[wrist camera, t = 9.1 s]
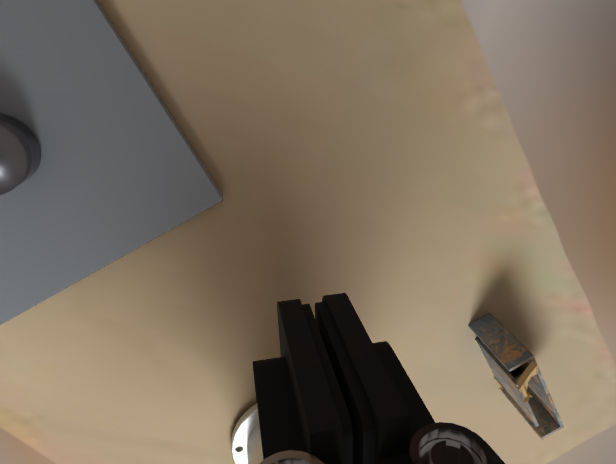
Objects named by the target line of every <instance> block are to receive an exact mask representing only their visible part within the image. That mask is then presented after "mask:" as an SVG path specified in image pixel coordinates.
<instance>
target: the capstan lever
mask: <svg viewBox="0 0 616 464" xmlns="http://www.w3.org/2000/svg"><path fill="white" fill-rule="evenodd" d="M40 161H41V149H40V145H39V143H38V140H37V138H36V137H35V135H34V134H33V132H32V131H31V130H30V129H29V128H28V127H27V126H26V125H25V124H24V123H22V122H21V121H19V120H18V119H16V118H14V117H12V116H9V115H6V114H2V113H0V195H3V194H6V193H8V192H10V191H11V190H13V189H14V188H16V187H17V186H18V185H20V184H21V183H23V182H24V181H26V180H27V179H28V178H30V177H31V176H32V175H33V174H34V173H35V172H36V171H37V169H38V167H39V165H40Z"/></svg>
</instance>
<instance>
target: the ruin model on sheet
mask: <svg viewBox="0 0 616 464" xmlns="http://www.w3.org/2000/svg"><path fill="white" fill-rule="evenodd" d="M468 326H469V327H470V328H471V330H472V331H473V332H474V333H475V334H476V335H477V336H478V337H479V338H480V339H479V338H476V339H475V340H476V341H477V342H478V344H479V346H480V348H481V350H482V352H483V354H484V356H485V358H486V360H487V362H488V364H489V366H490V368H491V370H492V372H493V374H494V377H495V378H494V379H496V381H497V383H498V385H499V387H500V388H499V389H501V391H502V392H503V393H504V395H505V396H506V397H507V398H508V399H509V401H510V402H511V403H512V404H513V405H514V407H515V408H516V409H517V410H518V411H519V413H520V414H521V415H522V416H523V418H524V419H525V420H526V421H527V422H528V424H529V425H530V426H531V427H532V428H533V430H534V431H535V432H536V433H537V434H538V436H539V437H540V438H541V439H544V438H546V437H547V436H549V435H551V434H553V433H554V432H556V431H558V430H560V429H561V428H563V427H564V426H563V424H562V421H561V419H560V417H559V414H558V412H557V410H556V407H555V405H554V403H553V400H552V398H551V396H550V393H549V391H548V389H547V386H546V384H545V382H544V379H543V377H542V375H541V372H540V370H539V368H538V365H537V363H536V361H535V358H534V356H533V355H532V354H531V353H530V352H529V351H528V350H527V349H526V348H525V347H524V346H523V345H522V344H521V343H520V342H519V341H518V340H517V339H516V338H515V337H514V336H513V335H512V334H511V333H510V332H509V331H508V330H507V329H506V328H505V327H504V326H503V325H502V324H500V323H499V322H498V321H497V320H496V319H495V318H494V317H493V316H492V315H491V314H490V313H488V314H486V315H484V316H483V317H481V318H479V319H478V320H476V321H474V322H473V323H471V324H469V325H468ZM484 344H485V345H486V346H487V347H488V348H489V349H488V348H487V347H486V346H485V345H484ZM493 354H494V355H495V356H496V357H497V358H498V359H497V358H496V357H495V356H494V355H493ZM502 364H503V365H504V366H505V367H506V368H507V369H506V368H505V367H504V366H503V365H502ZM512 370H513V371H514V373H515V375H516V377H513V376H512V375H511V373H510V372H511V371H512Z"/></svg>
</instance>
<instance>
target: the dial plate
mask: <svg viewBox="0 0 616 464" xmlns="http://www.w3.org/2000/svg"><path fill="white" fill-rule="evenodd" d="M0 113H2V114H6V115H9V116H12V117H14V118H16V119H18V120H19V121H21V122H22V123H24V124H25V125H26V126H27V127H28V128H29V129H30V130H31V131H32V132H33V134H34V135H35V137H36V138H37V140H38V143H39V145H40V149H41V161H40V165H39V167H38V169H37V171H36V172H35V173H34V174H33V175H32V176H31V177H30V178H28V179H27V180H26V181H24V182H23V183H21V184H20V185H18V186H17V187H16V188H14V189H13V190H11V191H10V192H8V193H6V194H3V195H0V325H1V324H3V323H5V322H6V321H8V320H10V319H12V318H13V317H15V316H17V315H19V314H21V313H22V312H24V311H26V310H28V309H30V308H31V307H33V306H35V305H37V304H39V303H40V302H42V301H44V300H46V299H47V298H49V297H51V296H53V295H55V294H56V293H58V292H60V291H62V290H64V289H65V288H67V287H69V286H71V285H72V284H74V283H76V282H78V281H80V280H81V279H83V278H85V277H87V276H89V275H90V274H92V273H94V272H96V271H98V270H99V269H101V268H103V267H105V266H106V265H108V264H110V263H112V262H114V261H115V260H117V259H119V258H121V257H123V256H124V255H126V254H128V253H130V252H131V251H133V250H135V249H137V248H139V247H140V246H142V245H144V244H146V243H148V242H149V241H151V240H153V239H155V238H157V237H158V236H160V235H162V234H164V233H165V232H167V231H169V230H171V229H173V228H174V227H176V226H178V225H180V224H182V223H183V222H185V221H187V220H189V219H190V218H192V217H194V216H196V215H198V214H199V213H201V212H203V211H205V210H207V209H208V208H210V207H212V206H214V205H216V204H217V203H219V202H221V201H223V196H222V193H221V192H220V190H219V189H218V187H217V186H216V184H215V182H214V181H213V179H212V178H211V176H210V175H209V173H208V172H207V170H206V168H205V167H204V165H203V164H202V162H201V161H200V159H199V158H198V156H197V154H196V153H195V151H194V150H193V148H192V147H191V145H190V144H189V142H188V140H187V139H186V137H185V136H184V134H183V133H182V131H181V130H180V128H179V126H178V125H177V123H176V122H175V120H174V119H173V117H172V116H171V114H170V112H169V111H168V109H167V108H166V106H165V105H164V103H163V102H162V100H161V98H160V97H159V95H158V94H157V92H156V91H155V89H154V88H153V86H152V84H151V83H150V81H149V80H148V78H147V77H146V75H145V74H144V72H143V70H142V69H141V67H140V66H139V64H138V63H137V61H136V60H135V58H134V56H133V55H132V53H131V52H130V50H129V49H128V47H127V46H126V44H125V42H124V41H123V39H122V38H121V36H120V35H119V33H118V32H117V30H116V28H115V27H114V25H113V24H112V22H111V21H110V19H109V18H108V16H107V14H106V13H105V11H104V10H103V8H102V7H101V5H100V4H99V2H98V0H0Z"/></svg>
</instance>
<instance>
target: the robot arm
mask: <svg viewBox="0 0 616 464" xmlns="http://www.w3.org/2000/svg"><path fill="white" fill-rule="evenodd" d="M277 310H278V324H279V337H280V350H281V357H280V358H273V359H266V360H260V361H253V371H254V380H255V390H256V399H257V403H256V404H254V405H253V406H252V407H250V408H249V409H248V410H247V411H246V412H245V413H244V414H243V415H242V416H241V418H240V419H239V421H238V422H237V423H236V426H235V428H234V430H233V433H232V439H231V451H232V456H233V460H234V462H235V464H505V463H504V462H503V461H502V460H501V458H500V457H499V456H498V455H497V454H496V453H495V452H494V450H493V449H492V448H491V447H490V446H489V445H488V444H487V443H486V442H485V441H484V440H483V439H482V438H481V437H480V436H479V435H478V434H476V433H474V432H473V431H471V430H469V429H467V428H466V427H463V426H460V425H456V424H453V423H443V422H439V423H435V421H434V420H433V418H432V416H431V415H430V413H429V411H428V409H427V408H426V406H425V404H424V403H423V401H422V399H421V397H420V396H419V394H418V392H417V390H416V389H415V387H414V385H413V384H412V382H411V380H410V378H409V377H408V375H407V373H406V372H405V370H404V368H403V366H402V365H401V363H400V361H399V360H398V358H397V356H396V354H395V353H394V351H393V349H392V348H391V346H390V345H389V343H388V342H386V341H384V342H378V343H372V342H371V340H370V338H369V336H368V334H367V332H366V330H365V328H364V326H363V325H362V323H361V321H360V319H359V317H358V315H357V313H356V311H355V309H354V307H353V306H352V304H351V302H350V300H349V298H348V296H347V295H346V293H341V294H334V295H326V296H323V298H322V302H319V303H315V318H314V315H313V312H312V310H311V307H310V304H304V305H302V303H301V301H300V299H296V300H289V301H281V302H277Z"/></svg>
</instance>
